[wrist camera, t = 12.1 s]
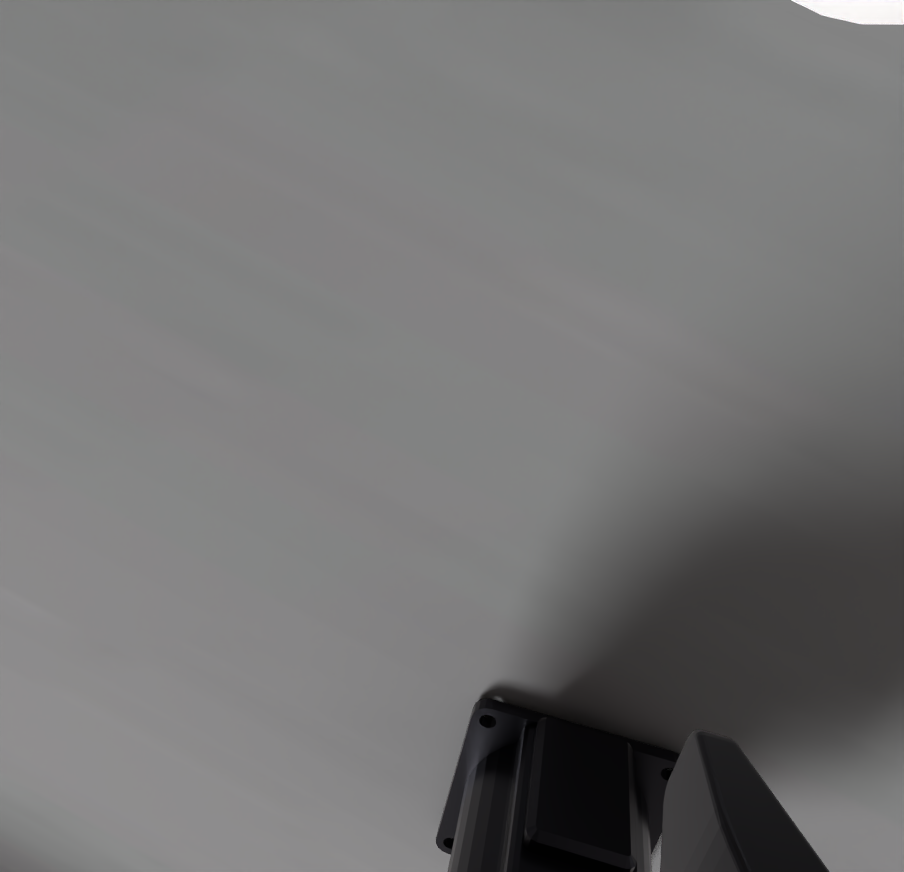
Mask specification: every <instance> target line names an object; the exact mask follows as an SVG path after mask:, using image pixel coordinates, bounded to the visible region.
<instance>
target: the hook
mask: <svg viewBox="0 0 904 872" xmlns="http://www.w3.org/2000/svg"><path fill="white" fill-rule="evenodd" d="M792 1H794V2H796V3H798V4H800V5H802V6H804V7H806V8H808V9H810V10H812V11H814V12H816V13H818V14H820V15H823V16H827V17H832V18H836V19H840V20H845V21H849V22H853V23H858V24H904V0H792Z"/></svg>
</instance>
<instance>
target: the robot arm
mask: <svg viewBox="0 0 904 872" xmlns="http://www.w3.org/2000/svg"><path fill="white" fill-rule="evenodd" d="M483 715H491V716H493V717H494V718H487V717H485V716H483ZM665 768H673V770H665ZM661 833H662V846H661V868H660V872H829V870H828V869H827V868H826V866H825V865H824V863H823V862H822V861H821V859H820V858H819V857H818V855H817V854H816V852H815V851H814V850H813V848H812V847H811V845H810V844H809V843H808V841H807V840H806V839H805V837H804V836H803V834H802V833H801V832H800V830H799V829H798V828H797V826H796V825H795V823H794V822H793V821H792V819H791V818H790V816H789V815H788V814H787V812H786V811H785V810H784V808H783V807H782V805H781V804H780V803H779V801H778V800H777V799H776V797H775V796H774V794H773V793H772V792H771V790H770V789H769V787H768V786H767V785H766V783H765V782H764V781H763V779H762V778H761V776H760V775H759V774H758V772H757V771H756V770H755V768H754V767H753V765H752V764H751V763H750V761H749V760H748V758H747V757H746V756H745V754H744V753H743V752H742V750H741V749H740V747H739V746H738V745H737V744H736V743H735V742H734V741H733V740H732V739H730V738H728V737H725V736H722V735H718V734H715V733H711V732H708V731H704V730H700V729H698V730H695V731H693V732H692V733H691V734H690V735H689V737H688V738H687V740H686V743H685V745H684V747H683V749H682V751H681V754H678V753H675V752H673V751H669V750H666V749H662V748H659V747H655V746H652V745H649V744H645V743H642V742H638V741H635V740H631V739H628V738H624V737H621V736H617V735H614V734H611V733H607V732H604V731H600V730H597V729H593V728H590V727H586V726H583V725H579V724H576V723H572V722H569V721H566V720H562V719H559V718H555V717H552V716H548V715H545V714H541V713H538V712H534V711H531V710H528V709H524V708H521V707H517V706H514V705H510V704H507V703H503V702H500V701H496V700H493V699H483V700H480V701H478V702H477V703H476V704H475V705H474V707H473V710H472V714H471V717H470V721H469V724H468V728H467V731H466V735H465V738H464V742H463V745H462V749H461V752H460V756H459V759H458V762H457V766H456V769H455V773H454V776H453V780H452V783H451V787H450V790H449V794H448V797H447V801H446V804H445V808H444V811H443V815H442V818H441V821H440V825H439V828H438V833H437V837H436V844H437V846H438V848H440V849H441V850H442V851H444V852H446V853H448V854H451V858H450V862H449V867H448V872H652V865H651V854H652V852H653V850H654V847H655V845H656V843H657V841H658V839H659V837H660V835H661Z"/></svg>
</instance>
